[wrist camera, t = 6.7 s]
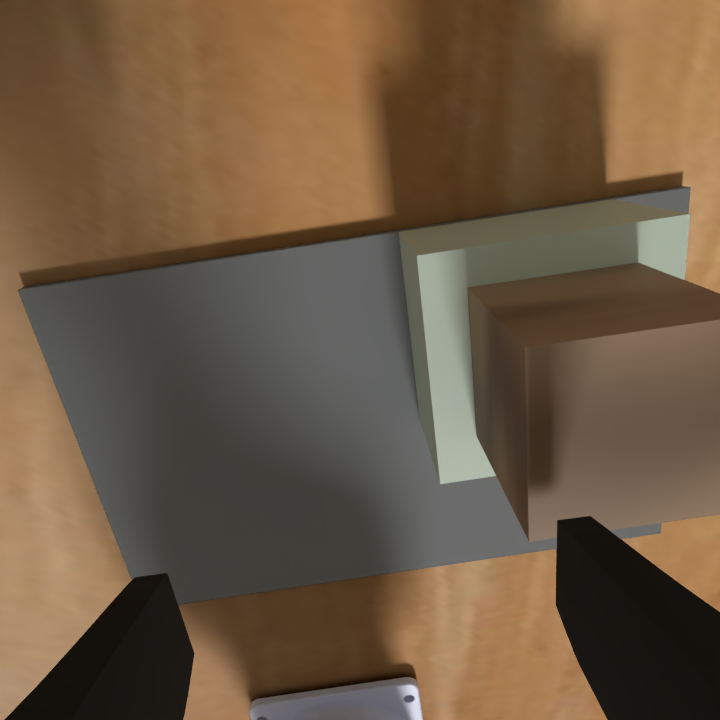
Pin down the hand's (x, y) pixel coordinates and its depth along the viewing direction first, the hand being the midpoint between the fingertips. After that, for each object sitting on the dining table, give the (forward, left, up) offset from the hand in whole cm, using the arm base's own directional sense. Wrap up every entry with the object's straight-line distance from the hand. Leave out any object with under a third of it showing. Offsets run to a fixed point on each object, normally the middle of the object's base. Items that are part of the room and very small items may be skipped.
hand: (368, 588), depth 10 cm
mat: (-2, -1, -10) cm, 11 cm away
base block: (+1, -6, -10) cm, 12 cm away
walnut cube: (+2, -6, -6) cm, 8 cm away
